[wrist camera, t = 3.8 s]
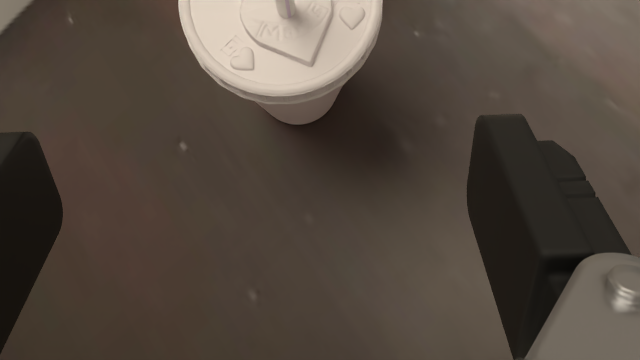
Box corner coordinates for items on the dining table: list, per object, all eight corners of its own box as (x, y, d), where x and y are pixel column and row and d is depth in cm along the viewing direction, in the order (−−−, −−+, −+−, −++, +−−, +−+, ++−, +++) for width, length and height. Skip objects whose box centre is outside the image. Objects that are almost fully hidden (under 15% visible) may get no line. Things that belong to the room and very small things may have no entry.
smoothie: (259, 175, 28) (185, 89, 14) (208, 49, 29) (90, -151, 15) (389, 121, 28) (445, -16, 14) (335, -2, 29) (337, -247, 15)
